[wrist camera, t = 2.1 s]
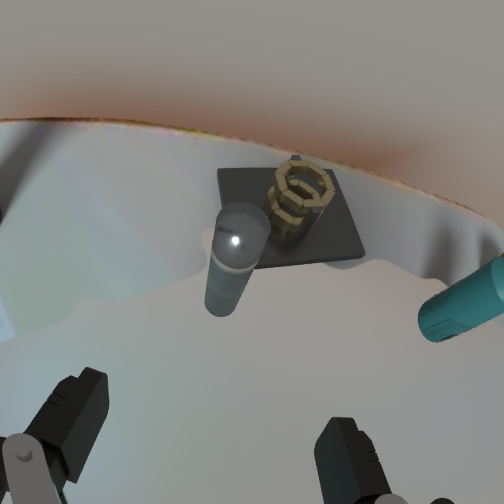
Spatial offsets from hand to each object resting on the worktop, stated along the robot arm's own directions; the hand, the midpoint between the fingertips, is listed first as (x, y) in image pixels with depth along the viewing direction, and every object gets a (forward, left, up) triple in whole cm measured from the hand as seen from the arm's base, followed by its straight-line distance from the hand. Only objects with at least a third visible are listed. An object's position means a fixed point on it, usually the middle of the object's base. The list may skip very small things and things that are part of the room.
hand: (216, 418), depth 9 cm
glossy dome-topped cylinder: (+4, +11, -22) cm, 24 cm away
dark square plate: (+15, +22, -22) cm, 34 cm away
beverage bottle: (+32, +3, -22) cm, 39 cm away
